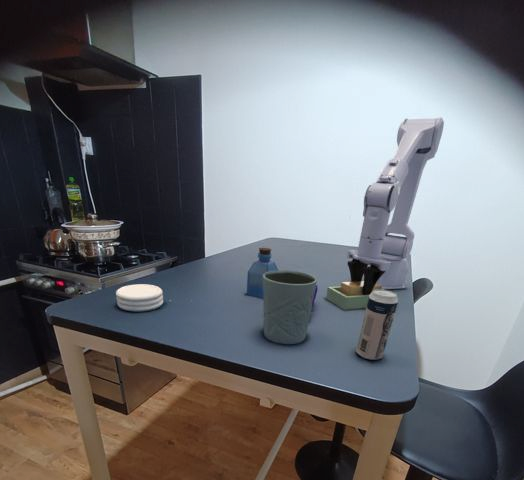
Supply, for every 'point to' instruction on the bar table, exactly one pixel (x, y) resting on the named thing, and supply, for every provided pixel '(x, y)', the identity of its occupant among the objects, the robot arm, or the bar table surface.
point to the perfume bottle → (259, 273)
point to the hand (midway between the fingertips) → (360, 291)
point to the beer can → (377, 324)
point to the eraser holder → (346, 299)
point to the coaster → (139, 297)
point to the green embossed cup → (287, 305)
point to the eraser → (356, 288)
